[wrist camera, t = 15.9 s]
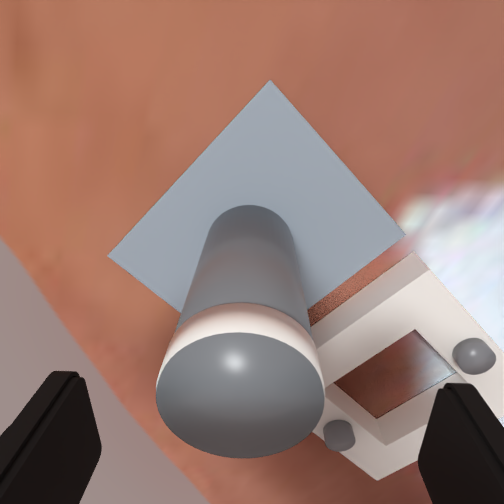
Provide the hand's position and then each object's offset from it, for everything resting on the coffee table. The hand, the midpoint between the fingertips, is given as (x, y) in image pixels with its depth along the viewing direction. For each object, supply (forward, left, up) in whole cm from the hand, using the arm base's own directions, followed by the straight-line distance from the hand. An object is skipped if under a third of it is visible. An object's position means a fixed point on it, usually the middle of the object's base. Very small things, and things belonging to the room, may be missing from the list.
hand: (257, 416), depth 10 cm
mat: (+1, 0, -10) cm, 10 cm away
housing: (-11, 0, -10) cm, 16 cm away
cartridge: (+1, 0, -10) cm, 10 cm away
